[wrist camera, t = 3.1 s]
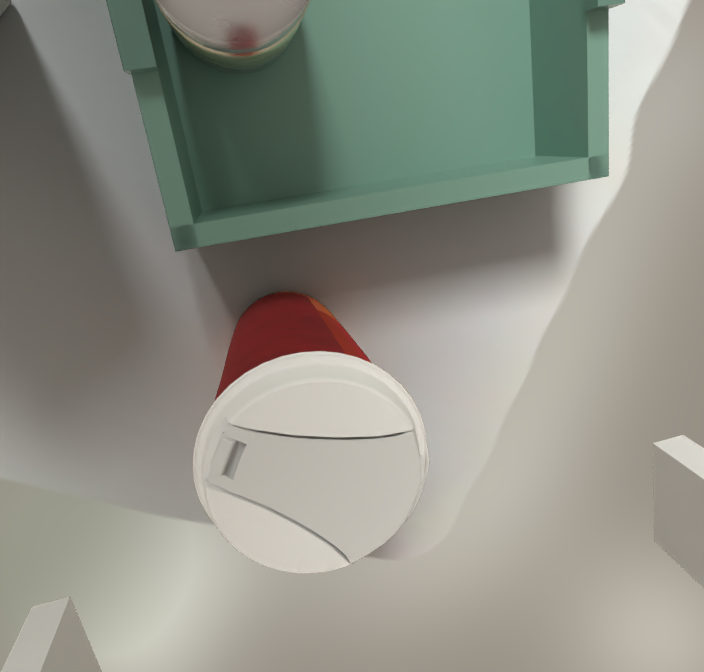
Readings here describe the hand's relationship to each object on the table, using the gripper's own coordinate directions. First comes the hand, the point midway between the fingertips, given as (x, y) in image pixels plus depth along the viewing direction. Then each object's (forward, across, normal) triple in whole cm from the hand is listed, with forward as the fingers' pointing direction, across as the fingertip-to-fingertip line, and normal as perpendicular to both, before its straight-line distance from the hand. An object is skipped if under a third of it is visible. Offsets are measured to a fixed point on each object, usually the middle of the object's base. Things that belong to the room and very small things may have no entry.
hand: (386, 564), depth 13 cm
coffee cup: (+22, -1, -1) cm, 22 cm away
